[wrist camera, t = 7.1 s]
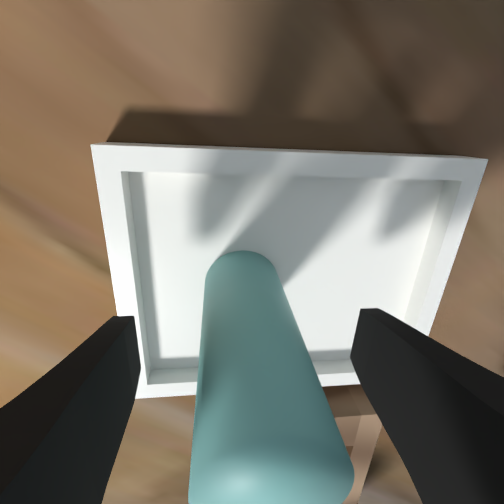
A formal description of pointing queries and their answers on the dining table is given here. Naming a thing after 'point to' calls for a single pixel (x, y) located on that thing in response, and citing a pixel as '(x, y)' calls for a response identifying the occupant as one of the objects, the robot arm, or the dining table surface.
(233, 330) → the teal dowel
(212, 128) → the dining table surface
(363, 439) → the rack
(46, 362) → the dining table surface
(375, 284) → the tray
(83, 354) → the robot arm
